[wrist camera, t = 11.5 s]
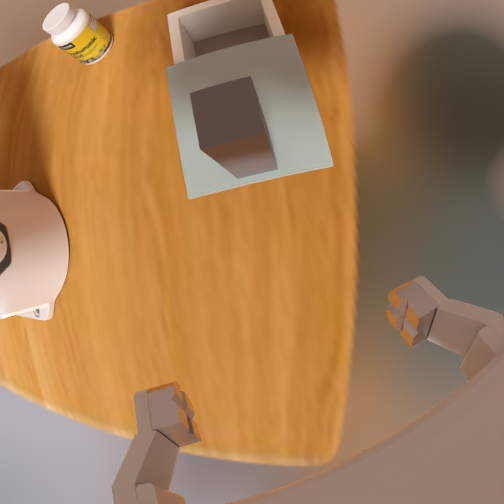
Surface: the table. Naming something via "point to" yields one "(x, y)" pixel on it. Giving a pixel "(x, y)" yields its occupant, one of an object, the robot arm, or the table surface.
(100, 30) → the supplement bottle
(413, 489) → the robot arm
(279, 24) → the carton
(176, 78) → the carton lid
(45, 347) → the table surface
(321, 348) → the table surface
